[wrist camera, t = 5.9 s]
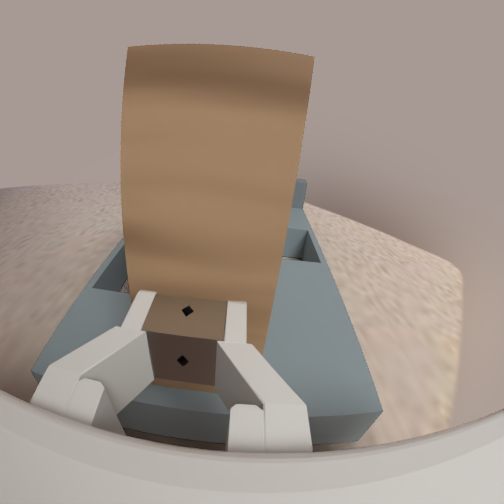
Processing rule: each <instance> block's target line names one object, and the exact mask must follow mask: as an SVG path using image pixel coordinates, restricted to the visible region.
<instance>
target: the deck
mask: <svg viewBox="0 0 504 504" xmlns="http://www.w3.org/2000/svg"><path fill="white" fill-rule="evenodd" d="M306 188H307V182H306V181H305V180H302V179H296V183H295V189H294V195H293V201H292V207H291V212H290V218H289V223H288V229H287V234H286V240H285V245H284V251H283V256H284V257H294V258H302V261H297V260H286V259H282V261H281V266H280V272H279V277H278V282H277V287H276V292H275V297H274V302H273V307H272V312H271V317H270V322H269V326H268V331H267V336H266V341H265V345H264V350H263V355H262V356H263V357H264V358H265V360H266V361H267V362H268V363H269V364H270V365H271V366H272V368H273V369H274V370H275V371H276V372H277V373H278V374H279V376H280V377H281V378H282V379H283V380H284V381H285V382H286V383H287V384H288V386H289V387H290V388H291V389H292V390H293V391H294V392H295V393H296V394H297V395H298V397H299V398H300V399H301V400H302V401H303V402H304V403H305V404H306V406H307V413H308V420H309V427H310V434H311V441H312V445H313V444H328V443H340V442H350V441H358V440H359V439H360V438H361V437H362V436H363V434H364V433H365V432H366V431H367V430H368V429H369V428H370V426H371V425H372V424H373V423H374V422H375V420H376V419H377V418H378V417H379V415H380V414H381V413H382V412H383V410H382V406H381V403H380V400H379V397H378V394H377V391H376V388H375V386H374V383H373V380H372V377H371V374H370V371H369V368H368V366H367V363H366V360H365V357H364V355H363V352H362V349H361V346H360V344H359V341H358V338H357V336H356V333H355V331H354V328H353V325H352V323H351V320H350V318H349V315H348V313H347V310H346V308H345V305H344V303H343V300H342V298H341V295H340V293H339V290H338V288H337V286H336V283H335V281H334V278H333V276H332V274H331V271H330V269H329V267H328V264H327V262H326V260H325V257H324V255H323V253H322V250H321V248H320V246H319V244H318V241H317V239H316V237H315V235H314V232H313V230H312V228H311V226H310V224H309V222H308V219H307V217H306V215H305V213H304V211H303V204H304V199H305V194H306ZM127 277H128V275H127V266H126V257H125V246H124V237H123V238H122V240H121V241H120V242H119V243H118V245H117V246H116V247H115V248H114V250H113V251H112V252H111V253H110V255H109V256H108V257H107V259H106V260H105V261H104V262H103V264H102V265H101V266H100V268H99V269H98V270H97V272H96V273H95V274H94V276H93V277H92V278H91V280H90V281H89V282H88V284H87V285H86V286H85V288H84V289H83V291H82V292H81V293H80V295H79V296H78V298H77V299H76V300H75V302H74V303H73V305H72V306H71V308H70V309H69V311H68V312H67V314H66V315H65V317H64V318H63V320H62V321H61V323H60V324H59V326H58V327H57V329H56V330H55V332H54V333H53V335H52V336H51V338H50V340H49V341H48V343H47V344H46V346H45V348H44V349H43V351H42V353H41V354H40V356H39V358H38V359H37V361H36V363H35V364H34V366H33V368H32V370H31V372H32V373H33V375H34V377H35V379H36V380H37V382H38V384H39V383H40V381H41V379H42V377H43V375H44V374H45V372H46V370H47V368H48V366H49V365H50V364H52V363H54V362H56V361H57V360H59V359H61V358H62V357H64V356H66V355H67V354H69V353H71V352H73V351H74V350H76V349H78V348H79V347H81V346H83V345H84V344H86V343H88V342H90V341H91V340H93V339H95V338H96V337H98V336H100V335H102V334H103V333H105V332H107V331H108V330H110V329H112V328H114V327H115V326H118V327H121V325H122V323H123V321H124V319H125V317H126V315H127V313H128V311H129V309H130V307H131V305H132V304H131V298H130V294H128V293H122V292H119V291H120V289H121V288H122V286H123V284H124V282H125V281H126V279H127ZM229 416H230V413H229V412H228V410H227V408H226V406H225V405H224V403H223V401H222V400H221V398H220V396H219V394H218V393H211V392H202V391H193V390H186V389H179V388H172V387H165V386H159V385H154V384H149V385H148V386H147V387H146V388H145V389H144V390H143V391H142V392H140V393H139V394H138V395H137V396H136V397H135V398H134V399H133V400H132V401H131V402H130V403H129V404H128V405H126V406H125V407H124V408H123V409H122V410H121V411H120V412H119V413H118V414H117V417H118V419H119V422H120V424H121V426H122V427H124V428H129V429H133V430H137V431H142V432H147V433H152V434H157V435H163V436H169V437H175V438H182V439H189V440H197V441H205V442H215V443H226V437H227V430H228V423H229Z"/></svg>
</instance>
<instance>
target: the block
mask: <svg viewBox="0 0 504 504" xmlns="http://www.w3.org/2000/svg"><path fill="white" fill-rule="evenodd" d="M313 65H314V57H313V56H308V55H302V54H296V53H291V52H284V51H278V50H270V49H262V48H253V47H244V46H230V45H213V44H211V45H210V44H164V45H145V46H133V47H128V52H127V60H126V68H125V78H124V90H123V103H122V121H121V201H122V220H123V234H124V246H125V257H126V266H127V275H128V283H129V290H130V298H131V304H132V303H133V301H134V299H135V297H136V295H137V293H138V292H139V291H140V290H147V291H154V292H161V293H168V294H175V295H182V296H189V297H195V298H204V299H214V300H224V301H227V303H228V300H230V301H245V302H246V303H247V339H246V343H247V344H253V346H254V347H255V348H256V349H257V350H258V352H259V353H260V354H261V355H263V350H264V345H265V341H266V336H267V331H268V326H269V322H270V317H271V312H272V307H273V302H274V297H275V292H276V287H277V282H278V277H279V272H280V266H281V261H282V256H283V251H284V245H285V240H286V234H287V229H288V223H289V218H290V212H291V207H292V201H293V195H294V189H295V183H296V177H297V171H298V165H299V159H300V153H301V147H302V140H303V134H304V128H305V121H306V114H307V108H308V100H309V94H310V86H311V79H312V72H313ZM226 313H227V312H226ZM225 324H226V323H225ZM150 384H154V385H159V386H165V387H172V388H179V389H186V390H193V391H202V392H211V393H217V391H216V389H215V386H210V385H202V384H195V383H189V382H182V381H174V380H166V379H159V378H154V380H153V381H152V382H151V383H150Z"/></svg>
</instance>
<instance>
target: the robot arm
mask: <svg viewBox="0 0 504 504" xmlns="http://www.w3.org/2000/svg"><path fill="white" fill-rule="evenodd" d="M226 312H227V313H226ZM225 323H226V324H225ZM246 339H247V303H246V302H245V301H230V300H228V303H227V301H224V300H214V299H204V298H195V297H189V296H182V295H175V294H168V293H161V292H154V291H147V290H140V291H139V292H138V293H137V295H136V297H135V299H134V301H133V303H132V305H131V307H130V309H129V311H128V313H127V315H126V317H125V319H124V321H123V323H122V325H121V327H118V326H115V327H114V328H112V329H110V330H108V331H107V332H105V333H103V334H102V335H100V336H98V337H96V338H95V339H93V340H91V341H90V342H88V343H86V344H84V345H83V346H81V347H79V348H78V349H76V350H74V351H73V352H71V353H69V354H67V355H66V356H64V357H62V358H61V359H59V360H57V361H56V362H54V363H52V364H50V365H49V366H48V368H47V370H46V372H45V374H44V375H43V377H42V379H41V381H40V383H39V385H38V387H37V389H36V391H35V393H34V395H33V397H32V398H31V401H30V403H28V402H25V401H23V400H21V399H19V398H17V397H14V396H12V395H10V394H8V393H6V392H4V391H2V390H0V504H504V409H502V410H500V411H497V412H495V413H492V414H490V415H487V416H485V417H482V418H479V419H476V420H474V421H471V422H468V423H465V424H462V425H459V426H456V427H452V428H449V429H446V430H442V431H439V432H435V433H431V434H428V435H424V436H420V437H415V438H411V439H407V440H402V441H397V442H392V443H386V444H381V445H375V446H368V447H361V448H354V449H345V450H336V451H324V452H313V449H312V441H311V434H310V427H309V420H308V413H307V406H306V404H305V403H304V402H303V401H302V400H301V399H300V398H299V397H298V395H297V394H296V393H295V392H294V391H293V390H292V389H291V388H290V387H289V386H288V384H287V383H286V382H285V381H284V380H283V379H282V378H281V377H280V376H279V374H278V373H277V372H276V371H275V370H274V369H273V368H272V366H271V365H270V364H269V363H268V362H267V361H266V360H265V358H264V357H263V356H262V355H261V354H260V353H259V352H258V350H257V349H256V348H255V347H254V346H253V344H247V343H246ZM154 378H159V379H166V380H174V381H182V382H189V383H195V384H202V385H210V386H215V389H216V391H217V393H218V394H219V396H220V398H221V400H222V401H223V403H224V405H225V406H226V408H227V410H228V412H229V413H230V416H229V423H228V430H227V437H226V445H225V451H215V450H206V449H197V448H189V447H182V446H176V445H169V444H164V443H158V442H153V441H148V440H143V439H138V438H134V437H130V436H126V434H125V432H124V430H123V428H122V426H121V424H120V422H119V419H118V417H117V414H118V413H119V412H120V411H121V410H122V409H123V408H124V407H125V406H126V405H128V404H129V403H130V402H131V401H132V400H133V399H134V398H135V397H136V396H137V395H138V394H139V393H140V392H142V391H143V390H144V389H145V388H146V387H147V386H148V385H149V384H150V383H151V382H152V381H153V380H154Z"/></svg>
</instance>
